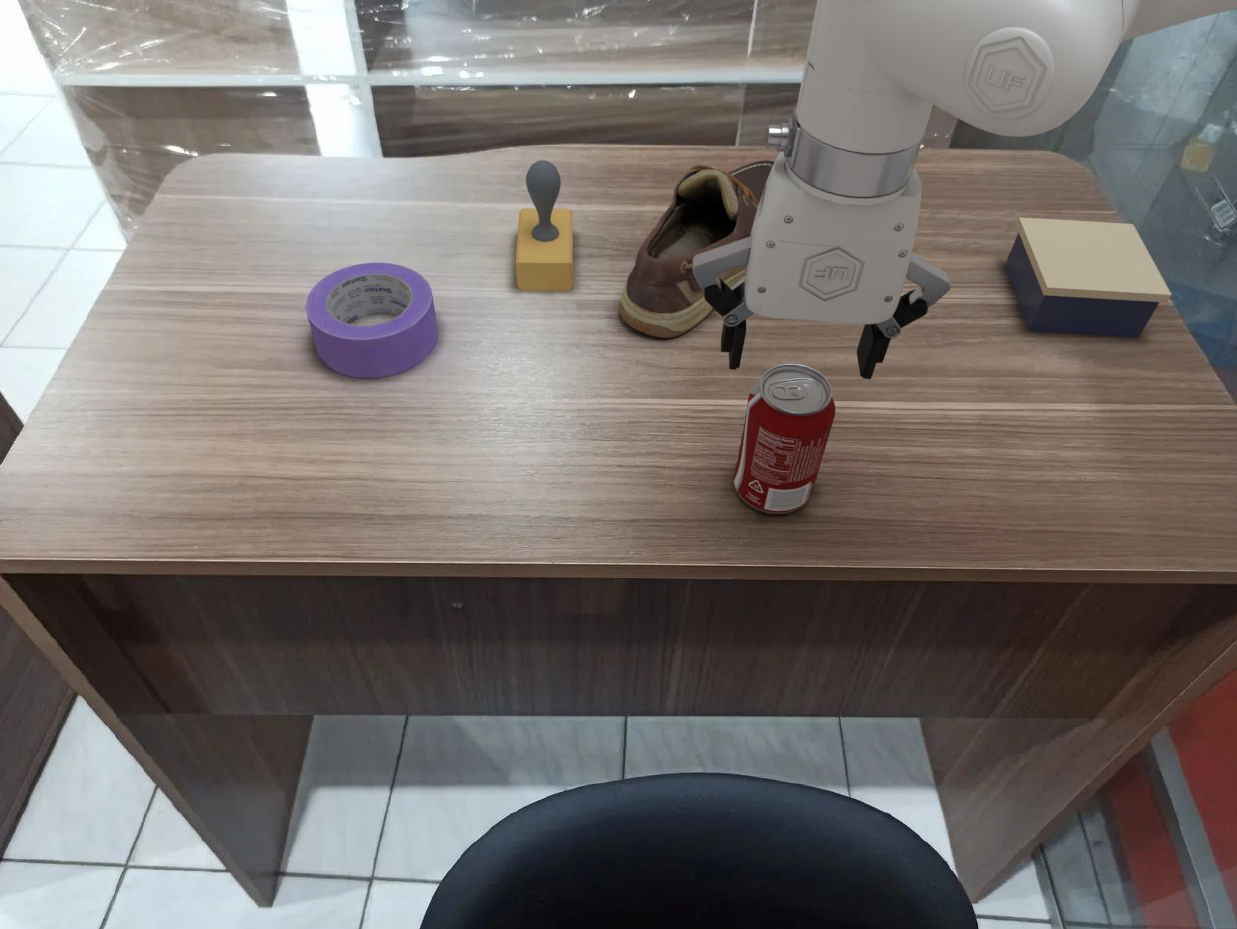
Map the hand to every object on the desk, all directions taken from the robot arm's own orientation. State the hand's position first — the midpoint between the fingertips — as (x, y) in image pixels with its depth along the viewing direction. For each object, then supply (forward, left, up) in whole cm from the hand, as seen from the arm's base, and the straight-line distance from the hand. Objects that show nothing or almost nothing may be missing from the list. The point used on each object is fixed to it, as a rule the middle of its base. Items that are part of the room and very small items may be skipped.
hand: (798, 361), depth 67 cm
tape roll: (+38, -16, -15) cm, 44 cm away
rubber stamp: (+23, -30, -15) cm, 40 cm away
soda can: (0, 0, -15) cm, 15 cm away
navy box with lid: (-33, -29, -15) cm, 46 cm away
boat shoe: (+5, -32, -15) cm, 35 cm away
